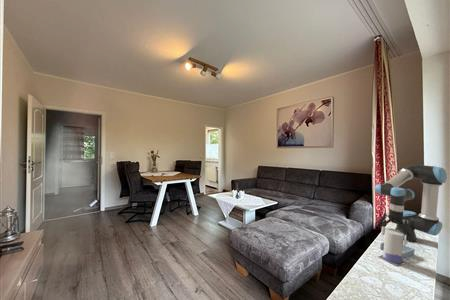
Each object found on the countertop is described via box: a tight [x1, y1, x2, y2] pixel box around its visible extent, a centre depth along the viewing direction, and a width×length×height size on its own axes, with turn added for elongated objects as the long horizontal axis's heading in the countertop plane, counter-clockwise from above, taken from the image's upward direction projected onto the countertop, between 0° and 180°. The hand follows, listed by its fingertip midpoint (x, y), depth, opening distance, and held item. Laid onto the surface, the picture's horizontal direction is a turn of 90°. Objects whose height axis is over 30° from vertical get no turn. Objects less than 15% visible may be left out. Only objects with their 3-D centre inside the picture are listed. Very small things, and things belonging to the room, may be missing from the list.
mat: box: [378, 254, 407, 267], centre depth 140 cm, size 11×11×1 cm
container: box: [382, 228, 404, 263], centre depth 139 cm, size 10×10×20 cm
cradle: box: [379, 241, 416, 261], centre depth 149 cm, size 14×14×5 cm
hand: (393, 239), depth 139 cm, fingers open, 13 cm apart
